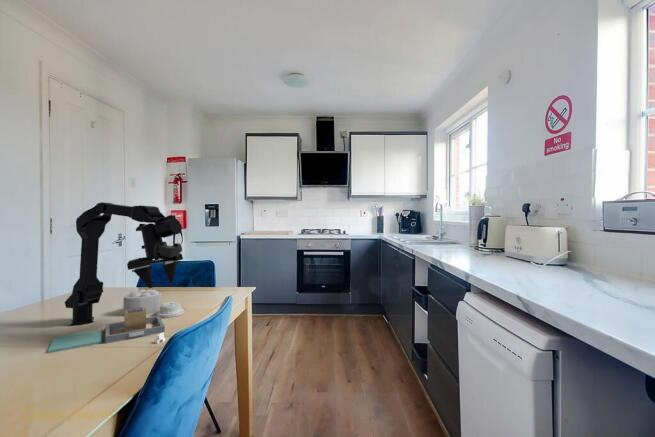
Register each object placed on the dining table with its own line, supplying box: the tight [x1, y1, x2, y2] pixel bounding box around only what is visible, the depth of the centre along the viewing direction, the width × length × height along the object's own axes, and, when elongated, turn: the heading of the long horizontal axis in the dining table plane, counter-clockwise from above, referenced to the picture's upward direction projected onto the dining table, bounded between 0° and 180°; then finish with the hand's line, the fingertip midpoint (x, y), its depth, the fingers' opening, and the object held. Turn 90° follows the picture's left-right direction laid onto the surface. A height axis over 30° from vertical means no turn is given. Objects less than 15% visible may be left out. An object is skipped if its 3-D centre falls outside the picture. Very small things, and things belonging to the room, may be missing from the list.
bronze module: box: [123, 307, 147, 333], centre depth 101 cm, size 4×6×8 cm
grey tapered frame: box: [104, 315, 166, 344], centre depth 101 cm, size 15×16×2 cm
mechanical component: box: [155, 301, 185, 319], centre depth 120 cm, size 10×4×10 cm
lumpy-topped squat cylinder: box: [122, 288, 163, 316], centre depth 123 cm, size 10×13×9 cm
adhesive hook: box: [152, 332, 166, 345], centre depth 92 cm, size 3×3×3 cm
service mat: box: [47, 329, 103, 354], centre depth 92 cm, size 12×12×1 cm
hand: (161, 285), depth 102 cm, fingers open, 9 cm apart
